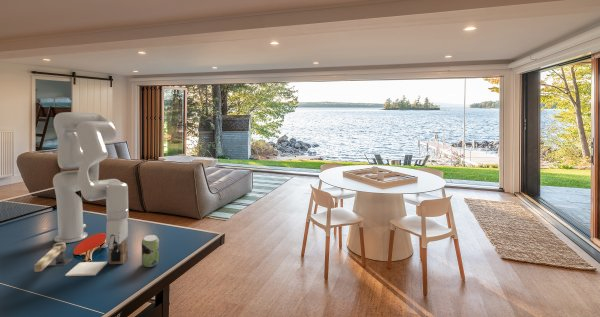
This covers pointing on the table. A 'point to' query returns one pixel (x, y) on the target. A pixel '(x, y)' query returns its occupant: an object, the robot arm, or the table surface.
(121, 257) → the walnut block
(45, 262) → the swing arm
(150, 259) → the beverage can
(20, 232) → the table surface
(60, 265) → the pivot plate
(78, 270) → the tile
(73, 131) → the robot arm
